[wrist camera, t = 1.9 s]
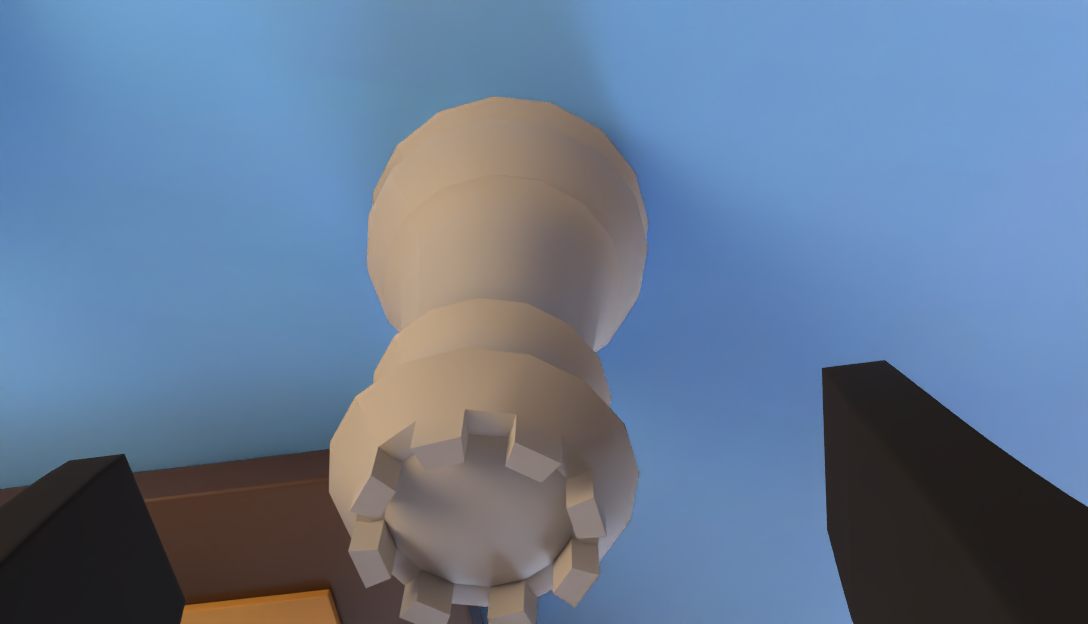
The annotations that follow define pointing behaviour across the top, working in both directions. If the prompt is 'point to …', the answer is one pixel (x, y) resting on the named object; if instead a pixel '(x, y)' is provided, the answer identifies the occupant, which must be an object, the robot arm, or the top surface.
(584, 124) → the rook chess piece
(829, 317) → the top surface
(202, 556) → the board
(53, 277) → the top surface
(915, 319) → the top surface
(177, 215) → the top surface
